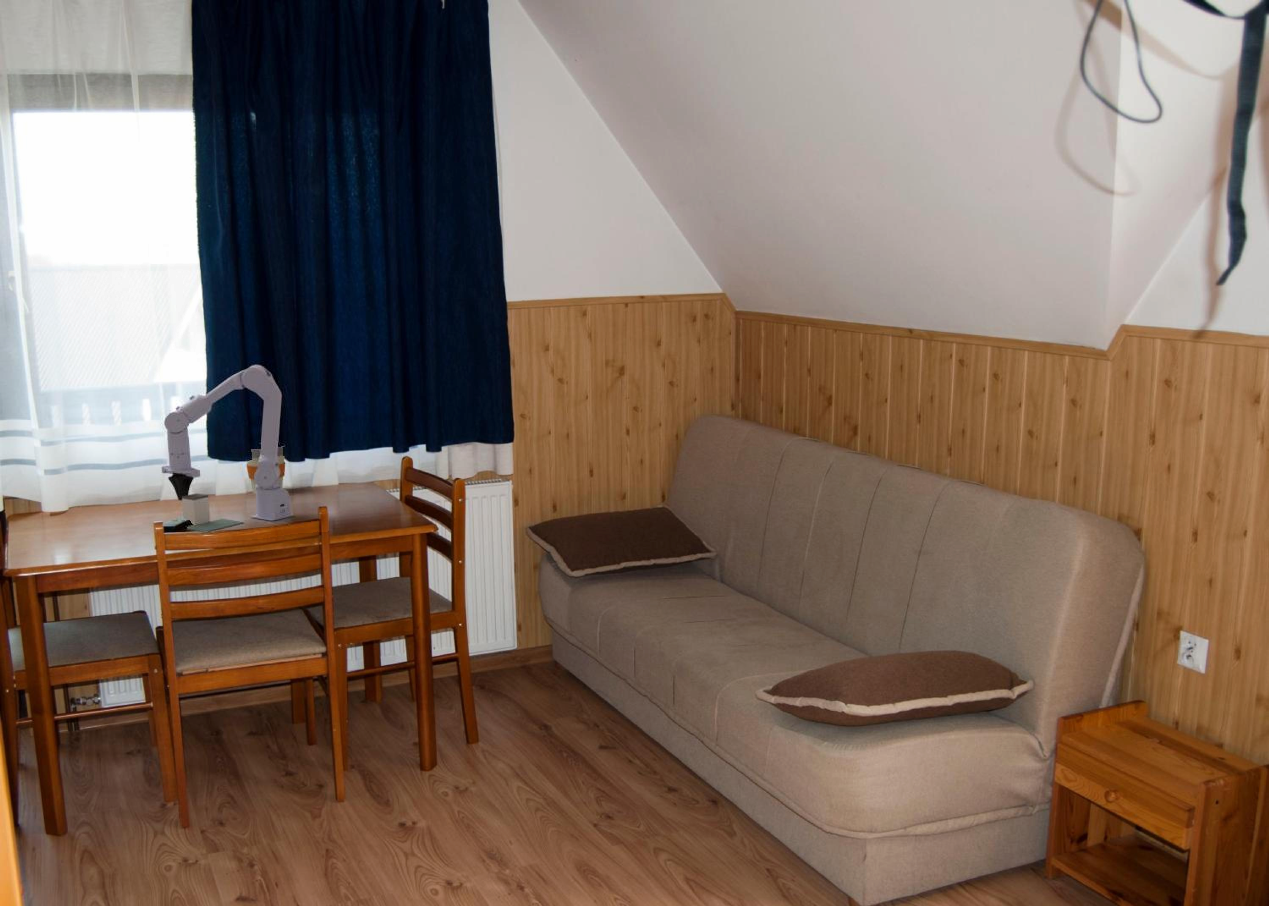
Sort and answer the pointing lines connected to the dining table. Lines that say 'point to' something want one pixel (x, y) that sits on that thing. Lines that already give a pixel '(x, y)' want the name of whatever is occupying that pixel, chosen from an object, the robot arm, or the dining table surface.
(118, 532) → the dining table surface
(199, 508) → the gray block
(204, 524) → the dice mat
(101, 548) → the dining table surface
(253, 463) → the reusable coffee cup
